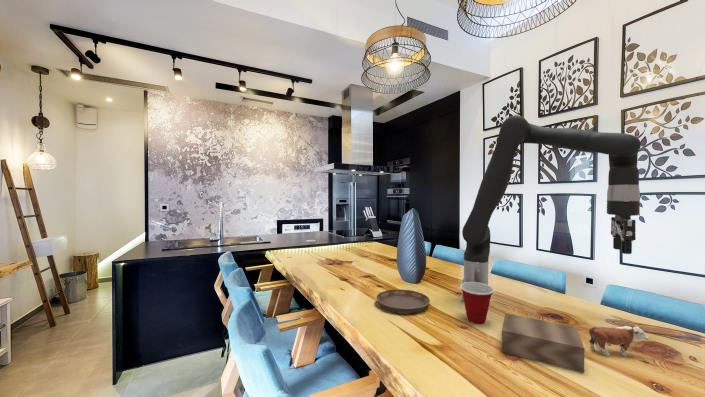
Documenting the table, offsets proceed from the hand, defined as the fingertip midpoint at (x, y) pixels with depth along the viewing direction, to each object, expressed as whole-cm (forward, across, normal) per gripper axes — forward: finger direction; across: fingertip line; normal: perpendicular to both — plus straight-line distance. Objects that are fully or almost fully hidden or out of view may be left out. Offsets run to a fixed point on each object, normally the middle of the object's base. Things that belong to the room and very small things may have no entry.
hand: (621, 251), depth 90 cm
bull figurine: (+26, +15, -4) cm, 31 cm away
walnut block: (+26, +24, -23) cm, 42 cm away
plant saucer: (+27, +12, -67) cm, 74 cm away
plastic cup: (+27, +12, -40) cm, 50 cm away
